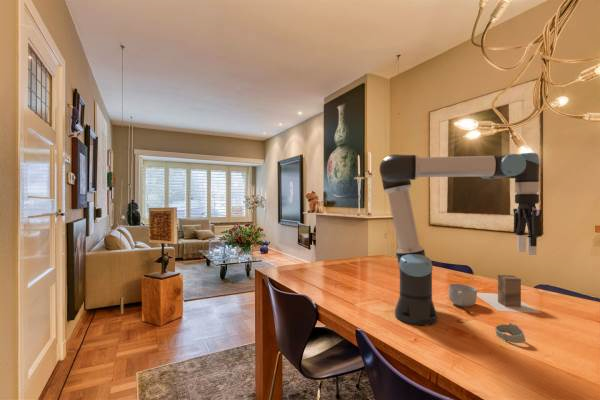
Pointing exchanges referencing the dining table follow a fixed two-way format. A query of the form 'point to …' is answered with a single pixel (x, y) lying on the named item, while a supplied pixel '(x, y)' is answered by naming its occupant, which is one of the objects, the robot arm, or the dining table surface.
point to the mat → (493, 301)
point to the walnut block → (509, 291)
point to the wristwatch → (511, 329)
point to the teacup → (462, 294)
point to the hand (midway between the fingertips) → (526, 253)
